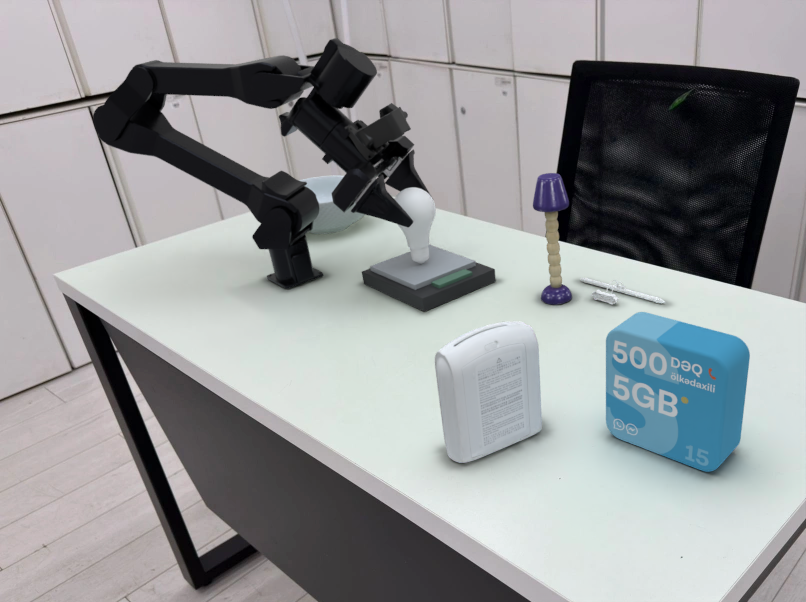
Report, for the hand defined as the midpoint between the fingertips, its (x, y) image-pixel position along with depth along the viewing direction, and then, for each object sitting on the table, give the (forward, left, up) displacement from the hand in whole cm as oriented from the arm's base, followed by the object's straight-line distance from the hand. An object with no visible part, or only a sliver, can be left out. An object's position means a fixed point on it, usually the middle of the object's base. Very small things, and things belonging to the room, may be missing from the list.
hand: (421, 213), depth 104 cm
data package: (+50, -10, -10) cm, 52 cm away
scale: (0, -1, -10) cm, 10 cm away
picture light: (+24, +12, -10) cm, 29 cm away
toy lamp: (+18, +7, -10) cm, 22 cm away
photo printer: (+37, -21, -10) cm, 44 cm away
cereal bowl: (-35, +3, -10) cm, 36 cm away
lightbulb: (-1, -1, -8) cm, 8 cm away
